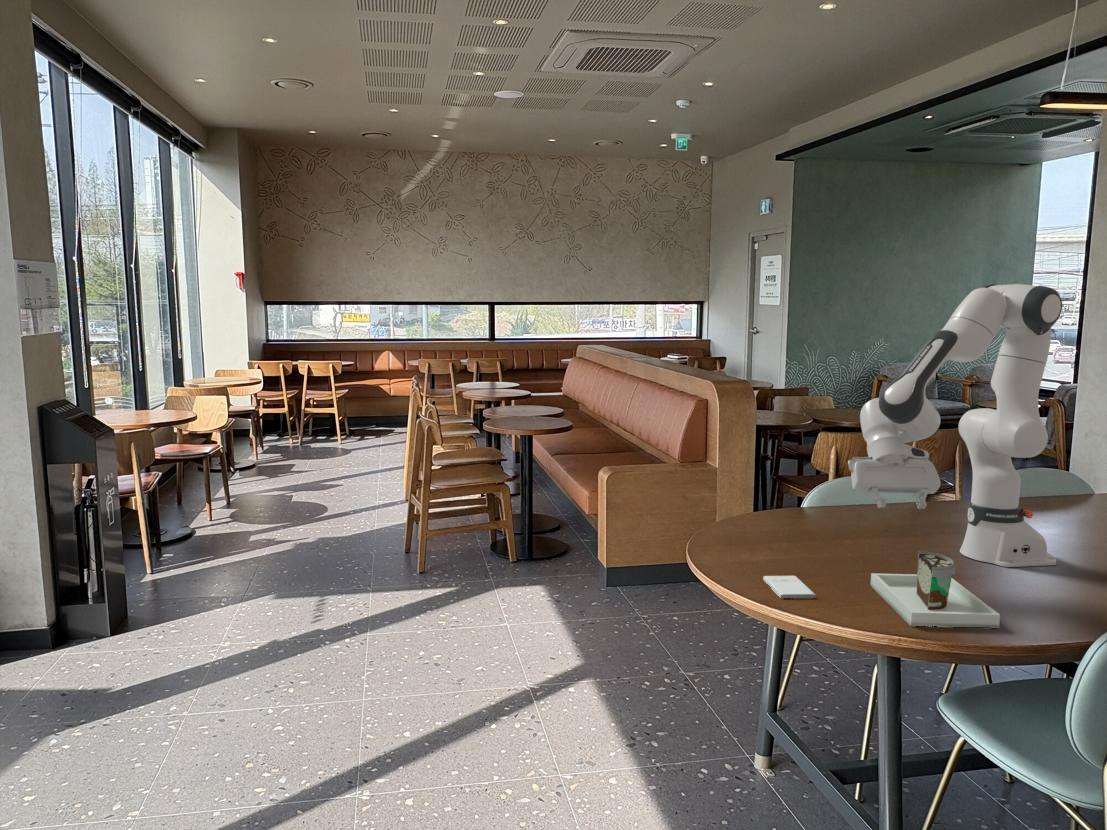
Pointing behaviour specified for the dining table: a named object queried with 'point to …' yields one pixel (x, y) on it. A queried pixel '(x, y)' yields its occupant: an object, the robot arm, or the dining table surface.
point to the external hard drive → (788, 587)
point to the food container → (934, 579)
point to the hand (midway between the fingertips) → (902, 507)
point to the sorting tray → (957, 613)
